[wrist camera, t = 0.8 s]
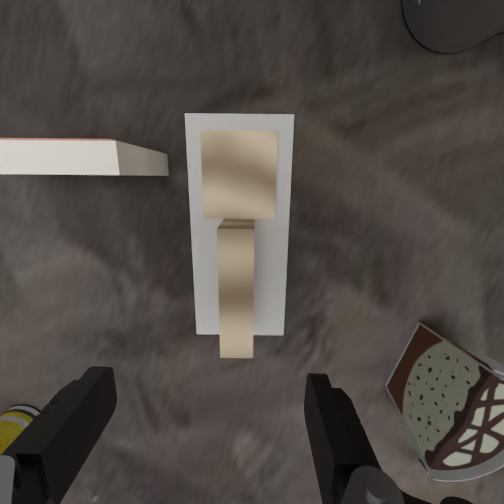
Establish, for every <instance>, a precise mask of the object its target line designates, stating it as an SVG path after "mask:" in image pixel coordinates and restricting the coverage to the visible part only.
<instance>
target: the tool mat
mask: <svg viewBox="0 0 504 504" xmlns="http://www.w3.org/2000/svg"><path fill="white" fill-rule="evenodd" d="M185 128H186V146H187V165H188V184H189V202H190V221H191V239H192V258H193V276H194V295H195V314H196V332H197V334H220V331H219V293H218V256H217V228H218V226H219V225H220V224H221V222H222V221H223V219H207V218H204V214H203V189H202V165H201V140H200V130H269V131H278V144H277V174H276V204H275V219H255V235H254V314H253V335H284V317H285V296H286V275H287V255H288V234H289V213H290V193H291V172H292V151H293V131H294V114H204V113H185Z"/></svg>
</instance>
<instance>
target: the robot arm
mask: <svg viewBox="0 0 504 504" xmlns="http://www.w3.org/2000/svg"><path fill="white" fill-rule="evenodd" d="M402 4H403V12H404V17H405V20H406V23H407V26H408V28H409V30H410V31H411V33H412V34H413V36H414V38H415V39H416V40H417V41H419V42H420V43H421V44H422V45H423V46H425V47H426V48H428V49H430V50H432V51H435V52H439V53H457V52H461V51H465V50H467V49H469V48H471V47H473V46H476V45H477V44H479V43H481V42H483V41H484V40H486V39H488V38H489V37H491V36H493V35H494V34H496V33H504V0H402ZM116 403H117V394H116V386H115V379H114V372H113V369H112V368H111V367H90V368H89V369H88V370H87V371H86V372H85V373H84V375H83V376H82V377H81V378H80V379H79V380H74V381H72V382H71V383H69V384H68V385H66V386H65V387H64V388H62V389H61V390H60V391H59V392H58V393H57V394H56V395H55V396H54V397H53V398H52V399H51V400H50V402H49V404H47V405H46V406H45V407H44V408H43V409H42V410H41V411H40V414H38V415H37V416H36V417H35V418H34V419H33V420H32V421H31V422H30V423H29V425H28V426H27V427H26V428H25V429H24V430H23V431H22V432H21V433H20V434H19V436H18V437H17V438H16V439H15V440H14V441H13V442H12V443H11V444H10V445H9V446H8V448H7V449H6V450H5V451H4V452H3V453H2V454H1V455H0V504H60V502H61V501H62V499H63V497H64V496H65V494H66V492H67V491H68V489H69V487H70V486H71V484H72V482H73V481H74V479H75V477H76V476H77V474H78V472H79V471H80V469H81V467H82V465H83V464H84V462H85V460H86V459H87V457H88V455H89V454H90V452H91V450H92V449H93V447H94V445H95V444H96V442H97V440H98V439H99V437H100V435H101V434H102V432H103V430H104V428H105V427H106V425H107V423H108V422H109V420H110V418H111V417H112V415H113V413H114V411H115V408H116ZM304 414H305V422H306V426H307V431H308V436H309V441H310V445H311V450H312V455H313V460H314V465H315V469H316V474H317V479H318V484H319V488H320V493H321V498H322V503H323V504H431V503H429V502H426V501H423V500H420V499H418V498H415V497H413V496H410V495H408V494H406V493H405V492H403V491H401V490H400V489H399V487H398V486H397V485H396V483H395V482H394V481H393V480H392V479H391V478H390V477H389V476H388V475H387V474H386V473H384V472H383V471H382V469H381V467H380V465H379V463H378V461H377V458H376V456H375V454H374V452H373V449H372V447H371V445H370V442H369V440H368V438H367V435H366V433H365V431H364V429H363V426H362V424H361V422H360V419H359V417H358V415H357V414H356V410H355V408H354V406H353V403H352V401H351V399H350V398H349V397H348V395H347V394H346V393H345V392H344V391H343V390H342V389H341V388H332V386H331V384H330V381H329V378H328V376H327V374H316V373H308V374H307V381H306V391H305V401H304ZM440 504H473V503H471V502H469V501H467V500H465V499H462V498H459V497H446V498H444V499H443V500H442V501H441V503H440Z"/></svg>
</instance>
